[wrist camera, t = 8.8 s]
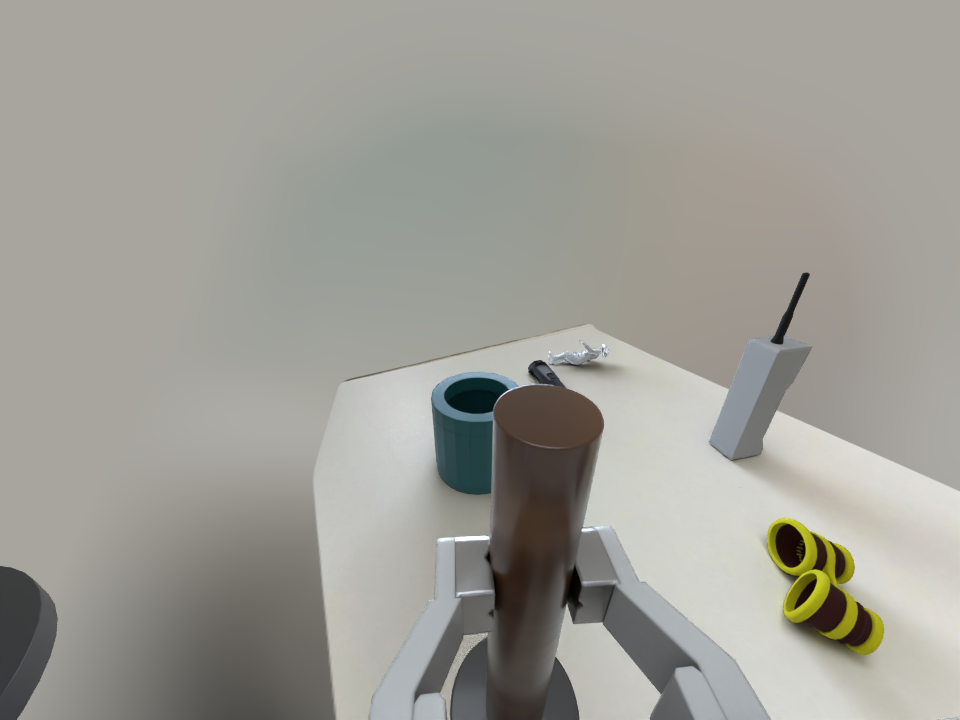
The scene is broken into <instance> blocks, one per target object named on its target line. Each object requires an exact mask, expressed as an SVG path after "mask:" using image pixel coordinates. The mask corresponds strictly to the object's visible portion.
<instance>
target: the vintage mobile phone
mask: <svg viewBox="0 0 960 720" xmlns="http://www.w3.org/2000/svg"><path fill="white" fill-rule="evenodd" d="M809 275H810V274H809V273H803V274H802V276H801V278H800V281H799V283H798V285H797V288H796V290H795V292H794V295H793V297H792V300H791V302H790V304H789V307H788V309H787V311H786V312H785V314H784V315H783V317H782V320H781V322H780V325H779V327H778V329H777V332H776V334H775V336H767V337H759V338H752V339H750V340H749V341H748V343H747V346H746V348H745V351H744V354H743V356H742V358H741V361H740V363H739V366H738V369H737V371H736V374H735V377H734V379H733V382H732V384H731V387H730V389H729V392H728V394H727V397H726V399H725V402H724V405H723V407H722V410H721V412H720V415H719V417H718V420H717V423H716V425H715V428H714V430H713V433H712V435H711V438H710V441H709V443H710V444H711V445H712V446H714V447H715V448H716V449H717V450H719V451H720V452H721V453H722V454H723V455H725V456H726V457H727V458H728V459H730V460H734V459H739V458H744V457H749V456H754V455H759V454H761V452H762V450H763V437H764V435H765V433H766V431H767V429H768V427H769V425H770V423H771V421H772V418H773V416H774V414H775V412H776V410H777V408H778V406H779V404H780V402H781V400H782V398H783V396H784V393H785V391H786V390H787V389H788V387H789V386H790V385H791V384H792V383H793V382H794V380H795V378H796V376H797V374H798V373H799V371H800V369H801V367H802V365H803V364H804V362H805V360H806V358H807V356H808V355H809V353H810V351H811V349H812V346H811V345H808V344H805V343H803V342H800V341H798V340H795V339H792V338H789V337H787V336H785V333H786V331H787V329H788V327H789V324H790V322H791V320H792V317H793V312H794V310H795V307H796V305H797V303H798V300H799V298H800V296H801V294H802V291H803V289H804V287H805V284H806V282H807V280H808V277H809Z"/></svg>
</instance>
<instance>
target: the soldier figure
mask: <svg viewBox="0 0 960 720" xmlns="http://www.w3.org/2000/svg"><path fill="white" fill-rule="evenodd" d="M579 341H580V344H583V345H585V348H586V349H587V351H586V350H584V351H583V352H582V353H577V352H573V353H575V354H576V355H574V354H572V353H570V352H564V353H562V354H560V355H557V356H553V355H552V354H551V352H549V356H548V360H549V361H550V364H551V365H552V364H554V363H557V362H560V361H563V360H565V361H567V362H569V363H571V364H575V365H580V364H582V363H584V362H585V361H586V360H591V359H596V358H597V357H598V355H599V354H601V351H599V350H598V349H591V348H590V347H589V346H588V345H586V343H584V342H583V341H581V340H579ZM608 354H609V349H608V348H607V347H606V345H604V344H603V346H602V356H604V357H605V358H606V356H607V355H608Z"/></svg>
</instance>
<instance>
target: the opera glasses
mask: <svg viewBox="0 0 960 720" xmlns="http://www.w3.org/2000/svg"><path fill="white" fill-rule="evenodd" d="M777 531H778V532H777ZM767 545H768V550H769V552H770V555H771V557H772V559H773V561H774V562H775V563H776V565H777V566H778V567H779V568H780V569H782V570H783V571H785V572H786V573H788V574H791V575H795V576H800V577H799V578H798V579H797V580H796V581H795V583H794V584H793V585H792V587H791V589H790V590H789V592H788V594H787V596H786V599H785V602H784V608H783V612H784V615H785V617H786V618H787V619H788V620H790V621H791V622H794V623H799V622H803V623H805V624H807V625H809V626H811V627H814V628H815V629H816V631H817V632H819V633H820V634H822V635H824V636H826V637H829V638H831V639H836V640H837V641H839V642H840V643H842V644H846V646H847V647H849V648H850V649H851V650H853V651H854V652H856V653H858V654H860V655H867V654H870V653H872V652H873V651H875V650H876V649H877V648H878V646H879V645H880V643H881V641H882V639H883V634H884V626H883V622H882V620H881V618H880V617H879V616H878V615H877V614H876V613H874V612H872V611H871V610H869V609H866V608H863V606H862V605H861V604H860V603H858V602H856V601H855V600H854V598H853V597H852V596H850V595H849V594H848V593H847V592H846V591H844V590H843V589H841V588H839V586H838V584H843V583H846V582H848V581H849V580H850V579H851V578H852V576H853V574H854V569H855V566H854V560H853V558H852V556H851V554H850V552H849V551H848V550H847V549H846V548H844V547H843V546H841V545H839V544H836V543H832V542H830V541H828V540H827V539H825V538H824V537H822V536H820V535H819V534H817V533H814V532H810V531H809V530H808V529H807V528H806V527H805V526H804V525H803V524H801V523H800V522H798V521H796V520H793V519H789V518H781V519H778V520H776V521H774V522H773V523H772V524H771V526H770V527H769V530H768V534H767ZM799 595H800V596H799Z"/></svg>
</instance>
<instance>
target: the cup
mask: <svg viewBox="0 0 960 720" xmlns="http://www.w3.org/2000/svg"><path fill="white" fill-rule="evenodd" d="M517 387H519V386H518V385H517V384H516V383H515V382H513V381H511V380H510V379H508V378H506V377H504V376H501V375H498V374H494V373H486V372H468V373H463V374H458V375H455V376H452V377H449V378H447V379H445V380H444V381H442V382H441V383H439V384H438V385H437V386H436V387H435V389H434V390H433V392H432V398H431V401H432V414H433V425H434V437H435V449H436V461H437V467H438V472H439V474H440V476H441V478H442V479H443V480H444V481H445V483H446V484H448V485H449V486H450V487H452V488H454V489H456V490H458V491H461V492H464V493H468V494H487V493H491V476H492V434H493V409H494V405H495V403H496V402H497V400H498V399H499V398H500V396H502V395H503V394H504V393H506V392H507V391H509V390H511V389H514V388H517Z"/></svg>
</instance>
